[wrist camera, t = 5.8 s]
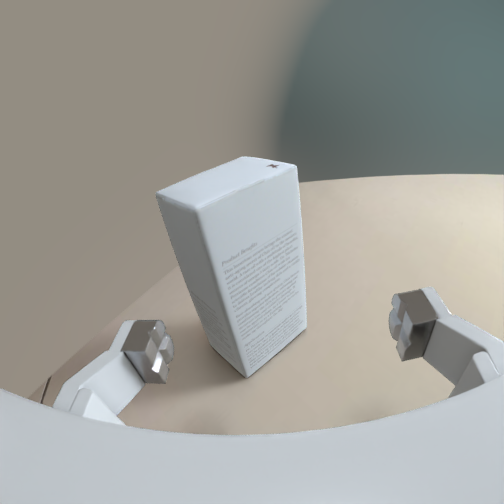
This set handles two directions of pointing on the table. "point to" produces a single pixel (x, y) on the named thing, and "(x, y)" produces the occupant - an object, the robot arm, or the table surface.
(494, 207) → the table surface
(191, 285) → the cosmetic box
